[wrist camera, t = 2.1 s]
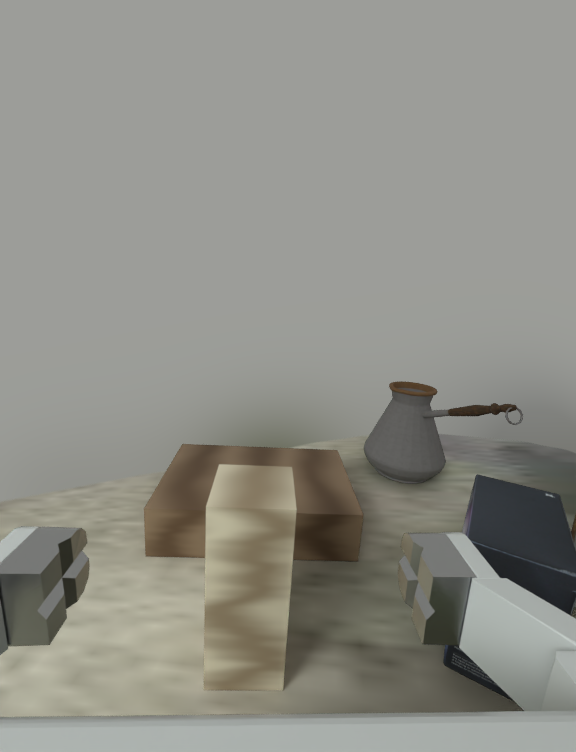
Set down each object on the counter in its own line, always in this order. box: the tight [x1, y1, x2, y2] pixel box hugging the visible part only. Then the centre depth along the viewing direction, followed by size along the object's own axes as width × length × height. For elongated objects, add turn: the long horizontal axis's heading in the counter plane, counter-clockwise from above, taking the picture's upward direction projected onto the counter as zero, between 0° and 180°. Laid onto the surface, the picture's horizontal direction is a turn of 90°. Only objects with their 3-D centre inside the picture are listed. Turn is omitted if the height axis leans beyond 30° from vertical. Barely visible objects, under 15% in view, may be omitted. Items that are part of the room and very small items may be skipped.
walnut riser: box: [144, 444, 364, 561], centre depth 40 cm, size 20×14×5 cm
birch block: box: [204, 464, 297, 691], centre depth 24 cm, size 5×5×13 cm
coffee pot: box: [364, 382, 523, 484], centre depth 47 cm, size 21×12×15 cm, turn 21°
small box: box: [444, 475, 576, 701], centre depth 27 cm, size 11×6×10 cm, turn 150°
